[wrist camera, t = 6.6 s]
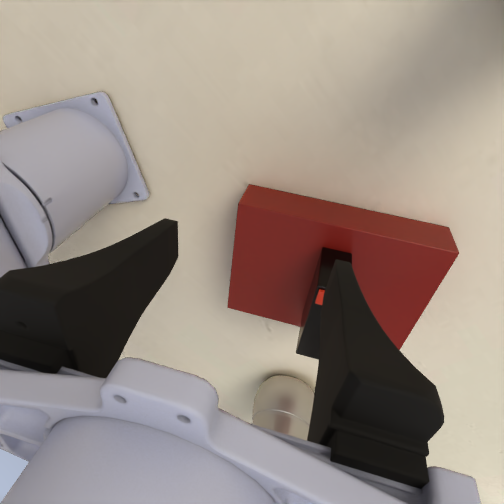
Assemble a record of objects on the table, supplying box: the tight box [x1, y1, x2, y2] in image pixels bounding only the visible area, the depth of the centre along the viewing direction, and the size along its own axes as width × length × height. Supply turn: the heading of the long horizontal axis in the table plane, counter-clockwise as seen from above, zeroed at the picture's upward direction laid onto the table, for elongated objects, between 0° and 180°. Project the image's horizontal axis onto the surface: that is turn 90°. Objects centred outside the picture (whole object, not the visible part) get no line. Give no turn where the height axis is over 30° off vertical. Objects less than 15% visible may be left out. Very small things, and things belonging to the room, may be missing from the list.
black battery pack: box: [296, 247, 352, 359], centre depth 23 cm, size 6×2×4 cm, turn 173°
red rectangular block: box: [228, 184, 459, 350], centre depth 26 cm, size 14×10×3 cm
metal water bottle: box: [252, 375, 314, 441], centre depth 31 cm, size 6×7×20 cm
